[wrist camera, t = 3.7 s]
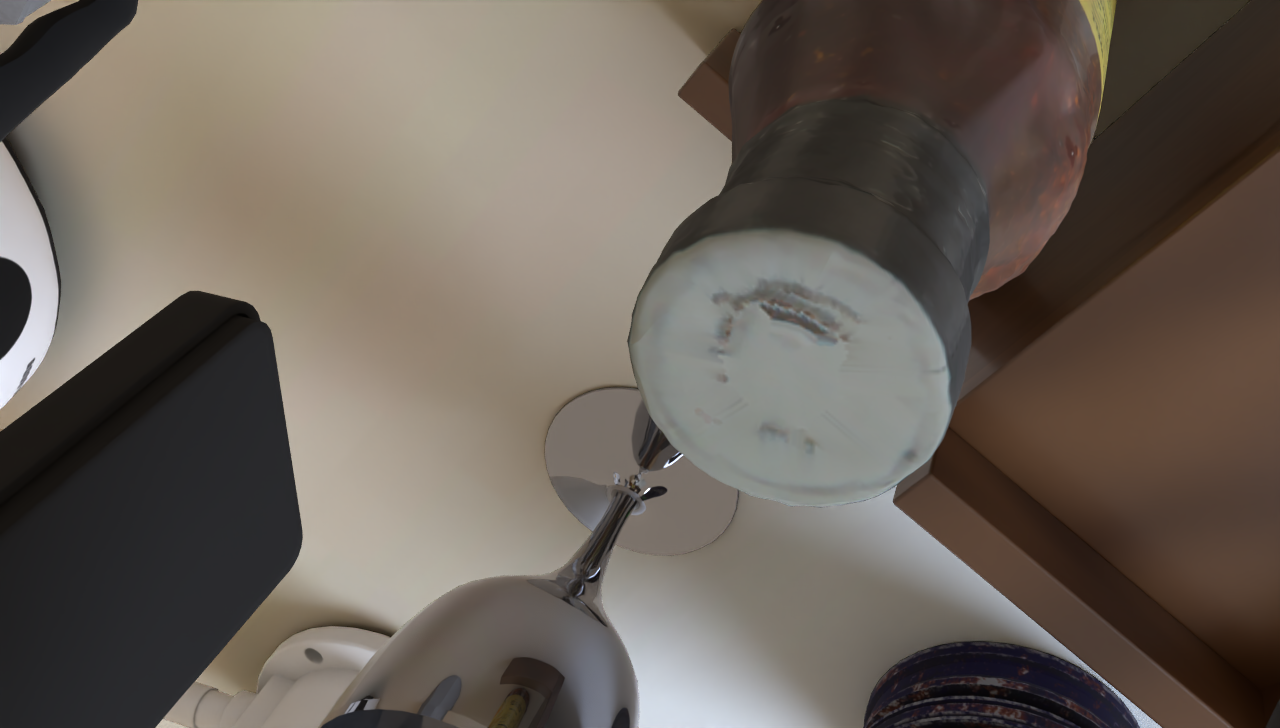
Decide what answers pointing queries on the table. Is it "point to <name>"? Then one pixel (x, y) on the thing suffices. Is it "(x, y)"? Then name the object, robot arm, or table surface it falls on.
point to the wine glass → (549, 593)
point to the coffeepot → (52, 50)
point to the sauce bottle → (862, 232)
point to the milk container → (24, 277)
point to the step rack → (1134, 396)
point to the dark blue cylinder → (992, 691)
